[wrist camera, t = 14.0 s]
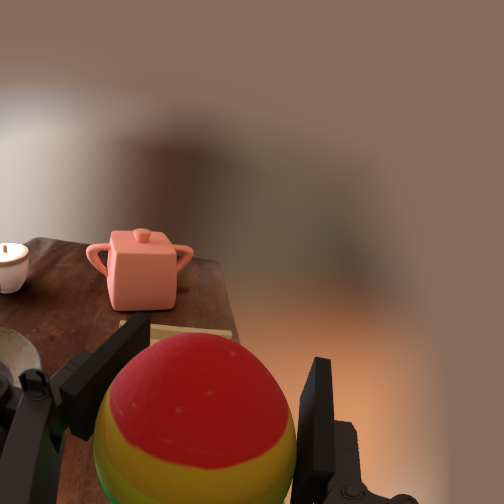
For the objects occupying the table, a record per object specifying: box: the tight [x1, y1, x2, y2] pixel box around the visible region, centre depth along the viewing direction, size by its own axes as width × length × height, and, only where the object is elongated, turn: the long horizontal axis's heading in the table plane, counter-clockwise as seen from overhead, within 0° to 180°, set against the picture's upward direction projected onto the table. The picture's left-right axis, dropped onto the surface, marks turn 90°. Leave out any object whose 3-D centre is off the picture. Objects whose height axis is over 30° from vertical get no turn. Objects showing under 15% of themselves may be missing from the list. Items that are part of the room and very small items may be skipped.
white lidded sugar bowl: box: [0, 244, 29, 293], centre depth 51 cm, size 11×11×9 cm
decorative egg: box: [93, 332, 297, 504], centre depth 11 cm, size 8×8×10 cm
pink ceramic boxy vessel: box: [86, 229, 194, 311], centre depth 63 cm, size 20×22×14 cm
